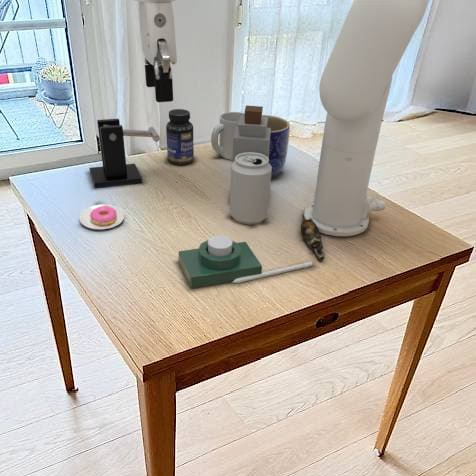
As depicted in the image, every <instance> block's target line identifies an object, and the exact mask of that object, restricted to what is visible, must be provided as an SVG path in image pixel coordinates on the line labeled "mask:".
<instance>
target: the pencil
mask: <svg viewBox="0 0 476 476" xmlns="http://www.w3.org/2000/svg"><path fill="white" fill-rule="evenodd" d="M311 267H313V261H306V262H302V263H299V264H294V265H290V266H284V267H281V268H277V269H273V270H267V271H263V272H262V273H261V274H257V275H252V276H246V277H241V278H237V279H235V280H234V281H233V282H232V283H234V284H237V285H238V284H241V283H246V282H248V281H254V280H258V279H263V278H267V277H271V276H276V275H281V274H284V273H289V272H292V271H293V272H294V271H297V270H301V269H307V268H311Z"/></svg>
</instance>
